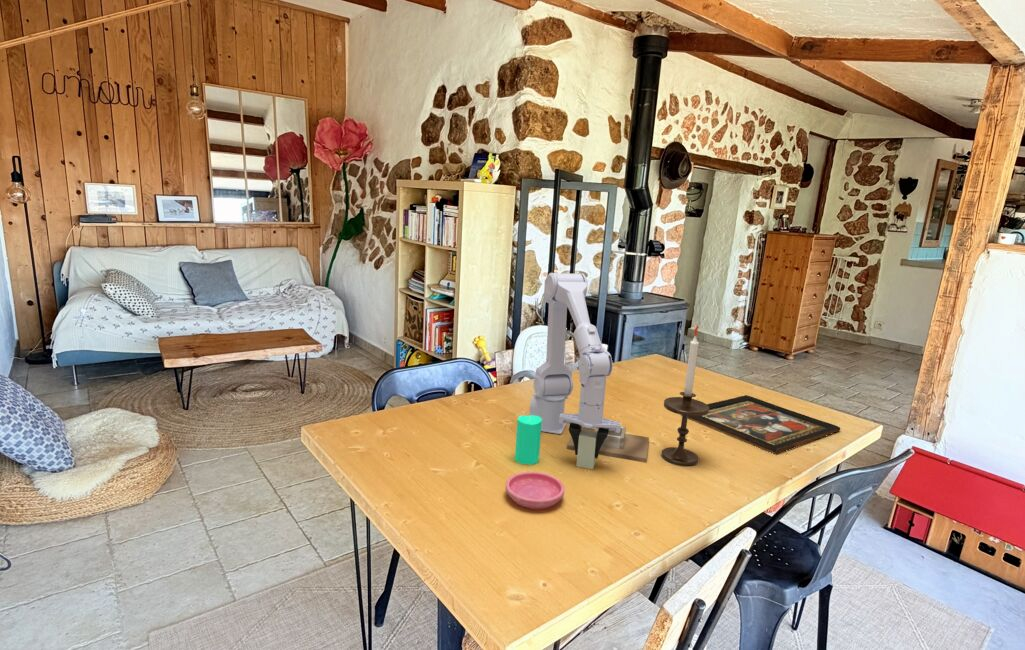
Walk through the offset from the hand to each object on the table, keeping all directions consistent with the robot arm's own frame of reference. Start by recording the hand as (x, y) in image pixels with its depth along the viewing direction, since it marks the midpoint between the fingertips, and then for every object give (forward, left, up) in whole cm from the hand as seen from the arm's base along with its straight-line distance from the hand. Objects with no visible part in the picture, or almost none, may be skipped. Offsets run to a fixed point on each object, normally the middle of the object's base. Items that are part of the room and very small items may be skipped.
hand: (586, 455), depth 135 cm
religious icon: (+45, +49, -3) cm, 67 cm away
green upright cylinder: (-14, -3, -3) cm, 15 cm away
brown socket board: (+4, +14, -2) cm, 15 cm away
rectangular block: (0, 0, -2) cm, 2 cm away
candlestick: (+22, +13, -3) cm, 26 cm away
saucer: (-8, -20, -3) cm, 22 cm away
